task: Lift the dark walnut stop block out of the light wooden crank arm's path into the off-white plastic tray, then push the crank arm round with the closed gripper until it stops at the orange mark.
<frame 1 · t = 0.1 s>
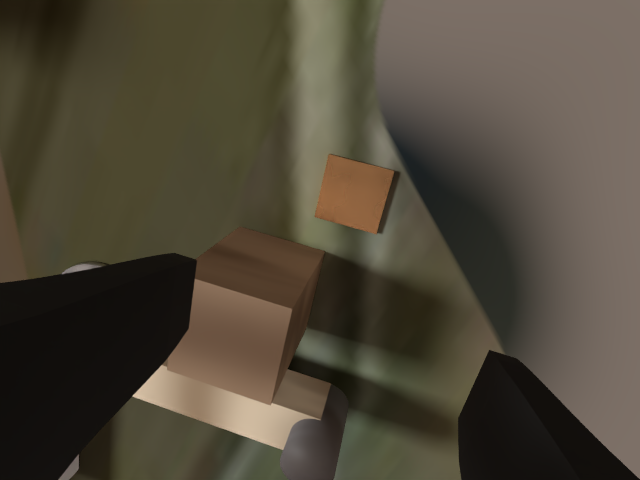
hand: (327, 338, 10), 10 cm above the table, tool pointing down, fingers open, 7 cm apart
stop block: (274, 278, 21), on the table
crank: (177, 377, 20), point 3 cm above the table, hinge at 0.0°
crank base: (104, 308, 24), on the table
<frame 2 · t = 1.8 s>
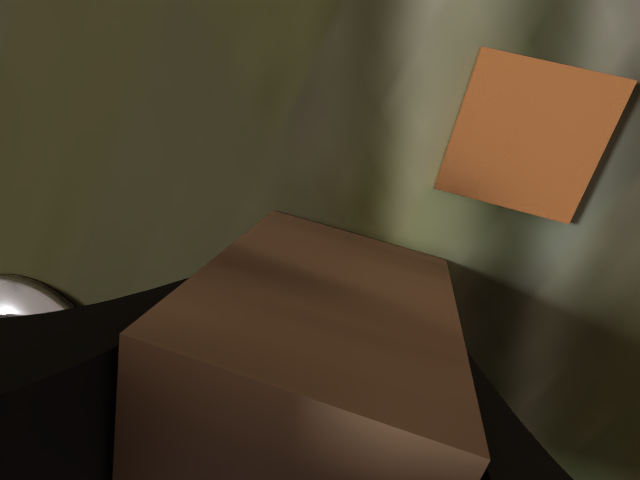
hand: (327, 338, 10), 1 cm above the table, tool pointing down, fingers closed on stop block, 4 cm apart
stop block: (336, 309, 11), on the table, touching gripper
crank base: (33, 353, 14), on the table
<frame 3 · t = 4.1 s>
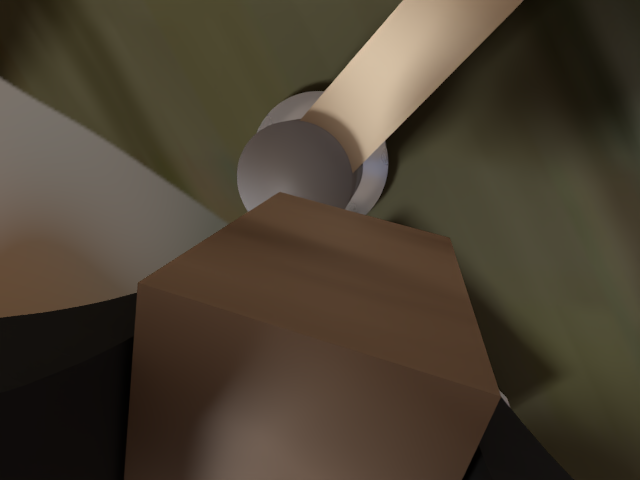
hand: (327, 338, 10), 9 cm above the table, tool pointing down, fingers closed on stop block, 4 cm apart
stop block: (341, 290, 11), point 8 cm above the table, touching gripper
crank: (440, 25, 13), point 3 cm above the table, hinge at 0.0°
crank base: (319, 163, 18), on the table
when the fingers open (3 cm above the table, at t = 6.3 s): stop block drops 1 cm, resting on tray.
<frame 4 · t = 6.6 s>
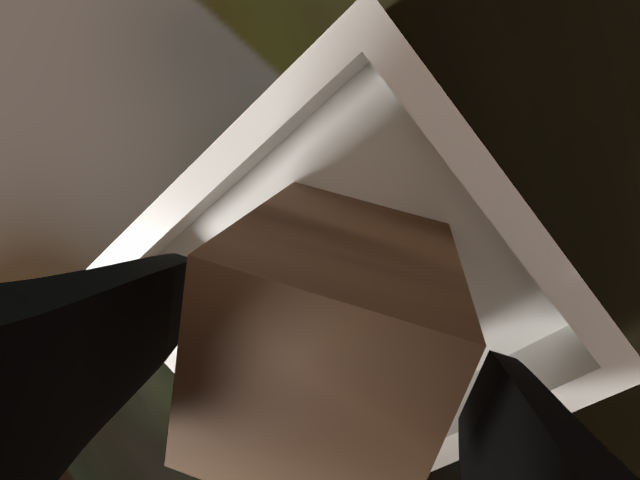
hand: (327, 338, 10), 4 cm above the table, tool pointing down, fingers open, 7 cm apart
stop block: (350, 272, 12), point 1 cm above the table, touching tray
tray: (348, 278, 13), on the table
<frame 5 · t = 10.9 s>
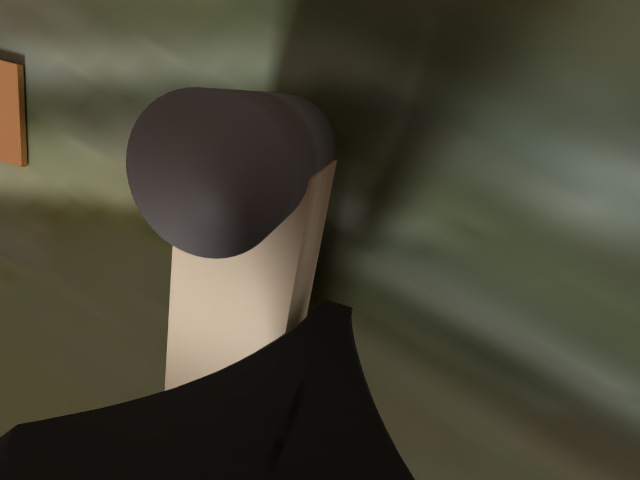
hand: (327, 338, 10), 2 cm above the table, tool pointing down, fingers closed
crank: (224, 441, 10), point 3 cm above the table, hinge at 2.5°, touching gripper
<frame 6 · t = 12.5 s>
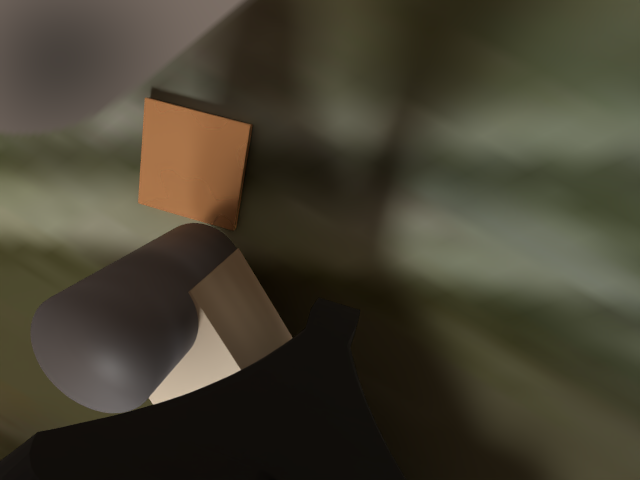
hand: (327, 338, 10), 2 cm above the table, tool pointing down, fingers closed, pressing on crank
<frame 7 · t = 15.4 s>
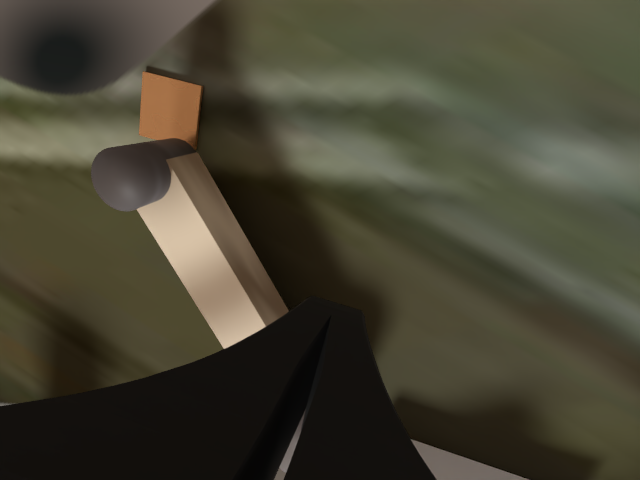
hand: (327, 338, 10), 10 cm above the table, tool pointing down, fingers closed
crank: (242, 313, 19), point 3 cm above the table, hinge at 41.2°
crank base: (322, 383, 23), on the table
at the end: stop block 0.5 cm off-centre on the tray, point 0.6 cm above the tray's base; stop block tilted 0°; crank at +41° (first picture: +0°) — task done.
